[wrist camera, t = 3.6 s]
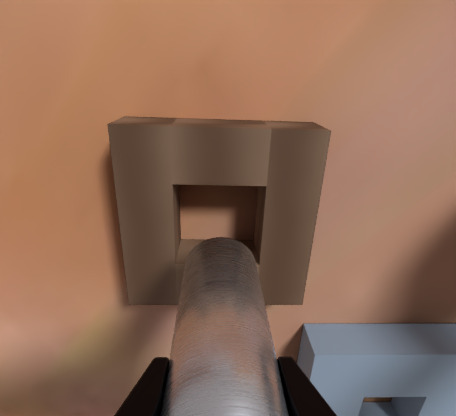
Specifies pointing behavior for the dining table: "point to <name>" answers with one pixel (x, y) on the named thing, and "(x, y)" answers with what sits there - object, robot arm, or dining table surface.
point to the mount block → (216, 175)
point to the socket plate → (382, 367)
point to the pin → (222, 338)
